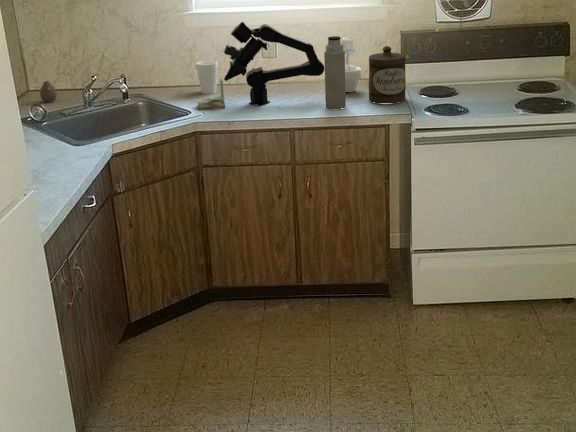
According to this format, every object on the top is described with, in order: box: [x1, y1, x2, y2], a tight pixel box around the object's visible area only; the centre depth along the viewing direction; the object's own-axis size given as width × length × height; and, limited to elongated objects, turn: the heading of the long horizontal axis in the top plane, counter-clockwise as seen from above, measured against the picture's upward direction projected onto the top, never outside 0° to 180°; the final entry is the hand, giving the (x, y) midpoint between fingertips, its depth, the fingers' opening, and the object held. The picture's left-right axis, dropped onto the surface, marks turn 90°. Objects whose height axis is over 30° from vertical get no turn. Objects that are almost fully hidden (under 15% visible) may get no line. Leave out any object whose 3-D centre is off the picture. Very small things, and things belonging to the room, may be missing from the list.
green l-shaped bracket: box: [208, 78, 226, 101], centre depth 329 cm, size 6×6×8 cm
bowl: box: [197, 97, 212, 104], centre depth 331 cm, size 6×6×2 cm
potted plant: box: [337, 35, 362, 93], centre depth 341 cm, size 13×12×25 cm
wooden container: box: [368, 45, 407, 104], centre depth 325 cm, size 15×15×22 cm
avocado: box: [39, 80, 58, 104], centre depth 351 cm, size 7×7×9 cm
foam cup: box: [195, 60, 219, 95], centre depth 354 cm, size 10×9×13 cm
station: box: [197, 97, 226, 111], centre depth 331 cm, size 11×8×3 cm
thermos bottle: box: [323, 35, 347, 110], centre depth 317 cm, size 8×8×28 cm
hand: (224, 80), depth 328 cm, fingers closed
